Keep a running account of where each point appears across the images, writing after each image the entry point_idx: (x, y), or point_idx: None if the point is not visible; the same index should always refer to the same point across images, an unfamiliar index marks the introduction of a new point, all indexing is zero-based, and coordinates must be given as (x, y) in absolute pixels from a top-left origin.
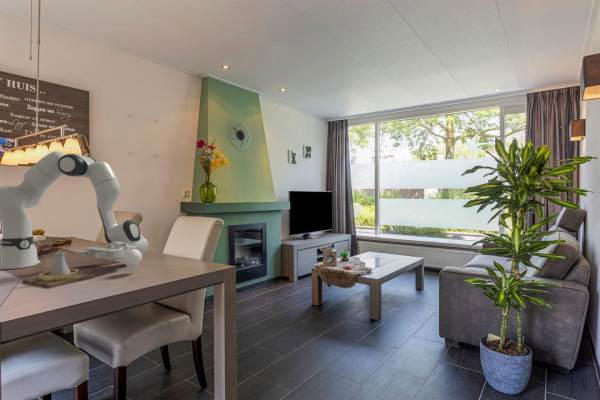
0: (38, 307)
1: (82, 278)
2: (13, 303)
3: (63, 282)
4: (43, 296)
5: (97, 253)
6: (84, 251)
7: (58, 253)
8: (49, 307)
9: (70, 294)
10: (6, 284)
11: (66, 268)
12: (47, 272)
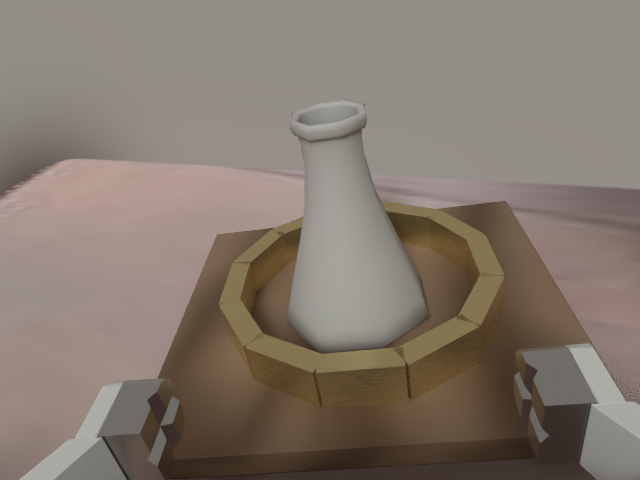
0: (54, 193)
1: (165, 372)
2: (171, 172)
3: (201, 278)
4: (135, 215)
5: (114, 420)
6: (638, 412)
7: (308, 107)
8: (16, 204)
9: (32, 260)
10: (521, 184)
11: (303, 266)
12: (465, 245)
